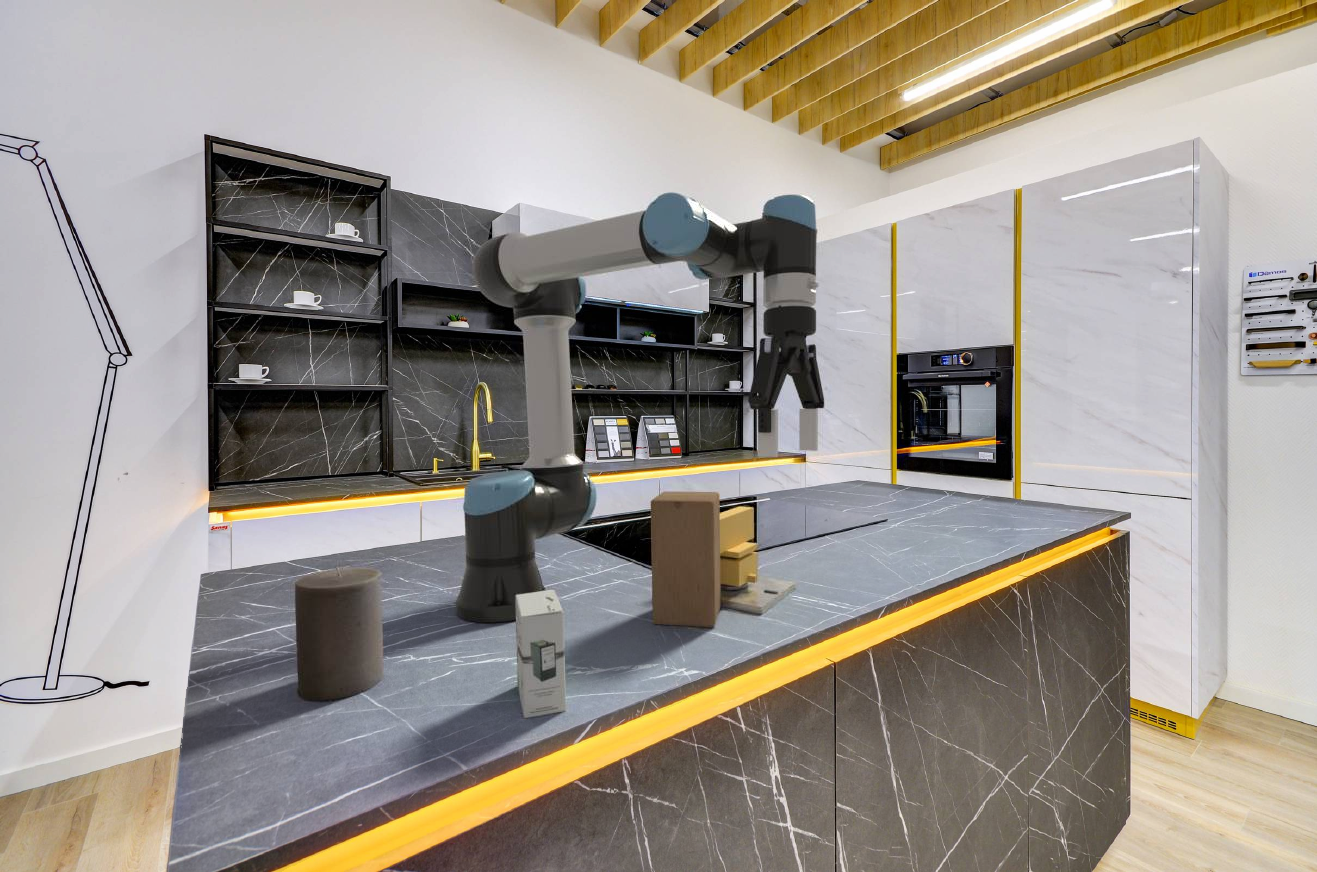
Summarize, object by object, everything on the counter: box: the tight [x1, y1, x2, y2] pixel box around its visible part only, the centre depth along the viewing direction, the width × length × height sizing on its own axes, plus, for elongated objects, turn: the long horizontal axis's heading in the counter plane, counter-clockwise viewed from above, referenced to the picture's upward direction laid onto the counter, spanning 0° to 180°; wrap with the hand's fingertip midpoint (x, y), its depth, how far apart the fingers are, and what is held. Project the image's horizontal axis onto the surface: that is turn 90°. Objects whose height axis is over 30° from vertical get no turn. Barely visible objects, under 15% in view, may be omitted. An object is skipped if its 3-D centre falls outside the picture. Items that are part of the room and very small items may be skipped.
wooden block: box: [650, 490, 722, 628], centre depth 95 cm, size 10×10×20 cm
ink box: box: [515, 589, 567, 719], centre depth 68 cm, size 9×5×12 cm, turn 19°
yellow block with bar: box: [720, 506, 759, 587], centre depth 107 cm, size 11×16×12 cm
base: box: [720, 556, 797, 615], centre depth 107 cm, size 20×16×10 cm
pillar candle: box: [294, 566, 384, 702], centre depth 73 cm, size 10×10×15 cm
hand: (789, 453), depth 85 cm, fingers open, 13 cm apart
